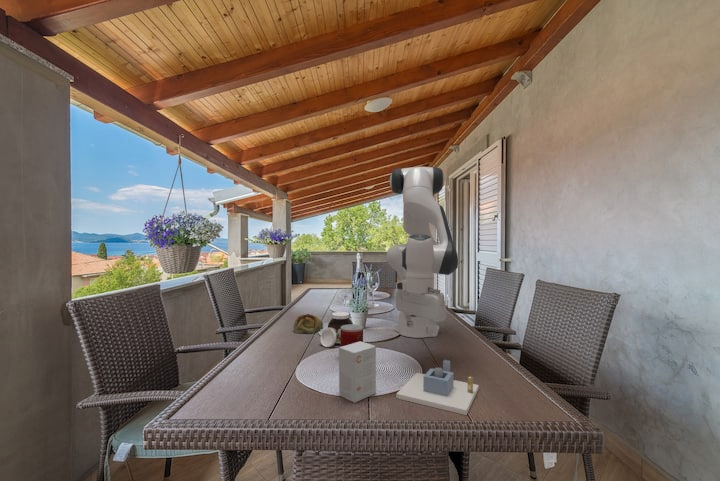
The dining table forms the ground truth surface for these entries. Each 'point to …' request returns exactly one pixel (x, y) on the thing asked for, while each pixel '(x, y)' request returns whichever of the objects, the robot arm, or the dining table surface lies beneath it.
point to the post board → (453, 402)
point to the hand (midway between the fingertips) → (419, 330)
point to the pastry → (307, 324)
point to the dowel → (470, 384)
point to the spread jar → (334, 329)
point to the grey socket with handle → (439, 381)
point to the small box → (357, 371)
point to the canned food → (350, 334)
